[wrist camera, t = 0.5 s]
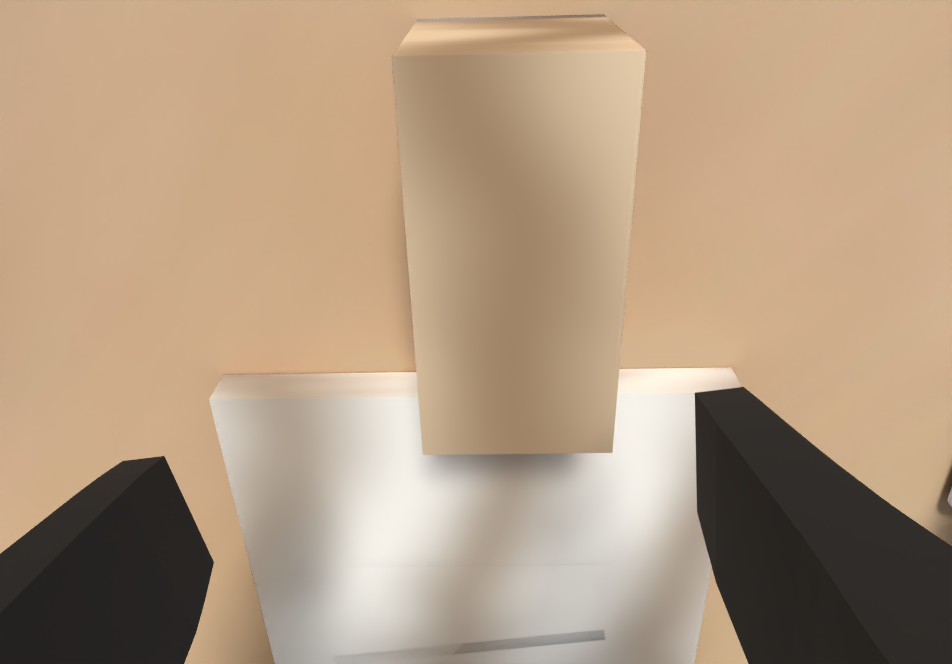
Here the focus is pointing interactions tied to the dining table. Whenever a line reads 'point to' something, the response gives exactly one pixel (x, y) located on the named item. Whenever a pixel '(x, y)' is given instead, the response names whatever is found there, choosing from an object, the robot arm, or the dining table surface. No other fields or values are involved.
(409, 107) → the block
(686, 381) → the board
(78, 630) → the robot arm
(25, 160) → the dining table surface
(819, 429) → the dining table surface
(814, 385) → the dining table surface
